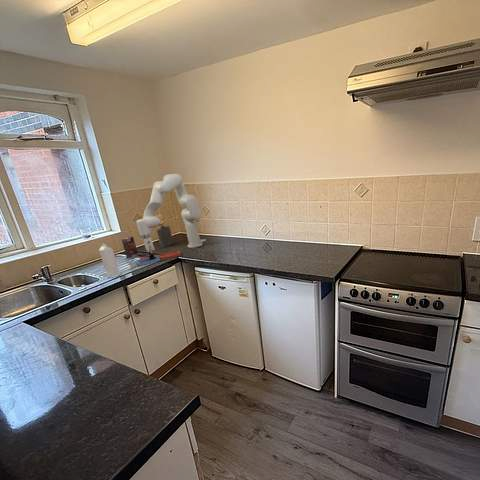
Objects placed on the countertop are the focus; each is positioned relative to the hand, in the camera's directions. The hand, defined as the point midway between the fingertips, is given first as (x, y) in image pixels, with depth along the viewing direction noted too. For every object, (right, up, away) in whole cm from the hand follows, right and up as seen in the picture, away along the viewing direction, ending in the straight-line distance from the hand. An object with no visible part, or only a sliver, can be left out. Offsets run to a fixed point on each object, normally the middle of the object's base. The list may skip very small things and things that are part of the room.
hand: (152, 259), depth 223 cm
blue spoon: (-3, -1, -1) cm, 3 cm away
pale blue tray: (-3, -1, -1) cm, 3 cm away
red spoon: (-8, +2, +10) cm, 13 cm away
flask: (-4, +15, +40) cm, 43 cm away
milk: (-16, -12, -23) cm, 31 cm away
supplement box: (-22, +3, +16) cm, 28 cm away
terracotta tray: (+11, +3, +6) cm, 13 cm away
